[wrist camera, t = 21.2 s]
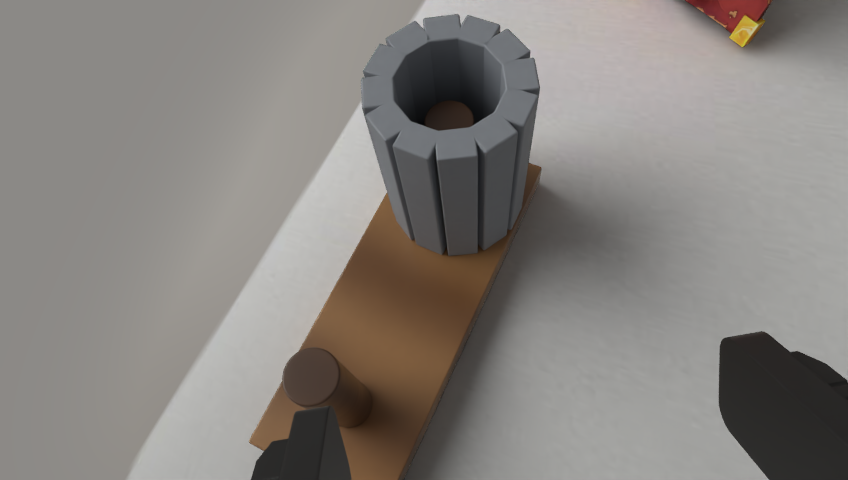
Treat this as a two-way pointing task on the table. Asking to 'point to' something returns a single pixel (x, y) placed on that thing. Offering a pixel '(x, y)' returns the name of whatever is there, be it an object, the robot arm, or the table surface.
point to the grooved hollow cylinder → (457, 148)
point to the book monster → (736, 16)
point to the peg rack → (390, 336)
